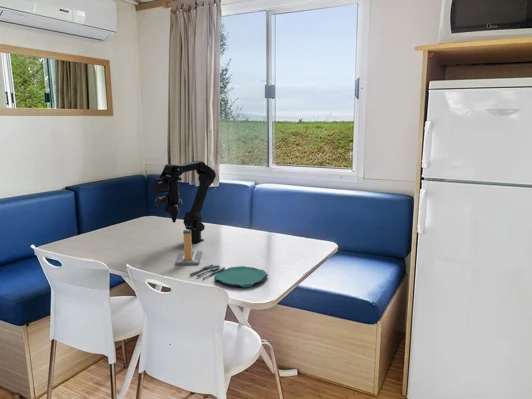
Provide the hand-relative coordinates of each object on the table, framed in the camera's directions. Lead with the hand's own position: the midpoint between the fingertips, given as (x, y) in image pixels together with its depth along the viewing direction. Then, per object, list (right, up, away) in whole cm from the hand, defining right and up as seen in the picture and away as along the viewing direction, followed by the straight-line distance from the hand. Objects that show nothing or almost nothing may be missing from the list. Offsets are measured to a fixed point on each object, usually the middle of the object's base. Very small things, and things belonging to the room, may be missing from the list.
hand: (174, 222), depth 200 cm
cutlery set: (+30, -20, -34) cm, 50 cm away
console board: (+10, -16, -13) cm, 23 cm away
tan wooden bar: (+10, -15, -18) cm, 25 cm away
